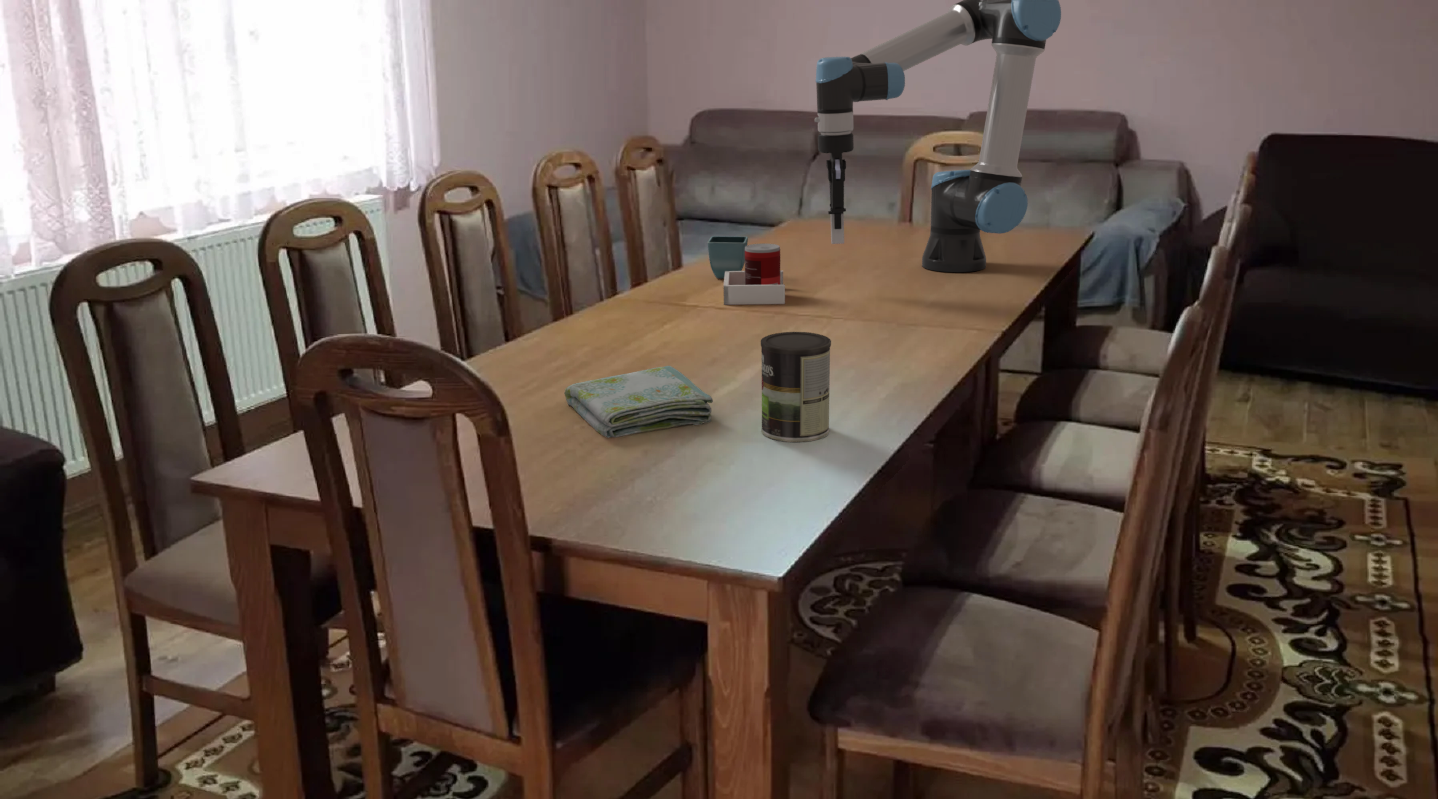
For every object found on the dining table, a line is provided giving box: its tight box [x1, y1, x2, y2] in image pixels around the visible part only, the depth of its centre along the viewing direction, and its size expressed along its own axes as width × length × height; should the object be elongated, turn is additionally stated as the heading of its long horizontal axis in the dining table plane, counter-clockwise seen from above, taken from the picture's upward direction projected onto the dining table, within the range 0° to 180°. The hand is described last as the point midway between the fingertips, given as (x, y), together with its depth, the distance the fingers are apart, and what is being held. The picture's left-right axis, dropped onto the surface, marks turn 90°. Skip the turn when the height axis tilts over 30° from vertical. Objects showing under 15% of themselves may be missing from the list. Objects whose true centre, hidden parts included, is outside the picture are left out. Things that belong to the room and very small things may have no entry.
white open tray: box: [723, 270, 786, 306], centre depth 279 cm, size 13×16×4 cm
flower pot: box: [706, 235, 749, 279], centre depth 298 cm, size 9×9×9 cm
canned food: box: [744, 243, 781, 285], centre depth 278 cm, size 8×8×11 cm
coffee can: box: [760, 331, 832, 443], centre depth 188 cm, size 10×10×14 cm
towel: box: [564, 365, 714, 439], centre depth 200 cm, size 18×21×5 cm
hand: (837, 242), depth 277 cm, fingers closed
